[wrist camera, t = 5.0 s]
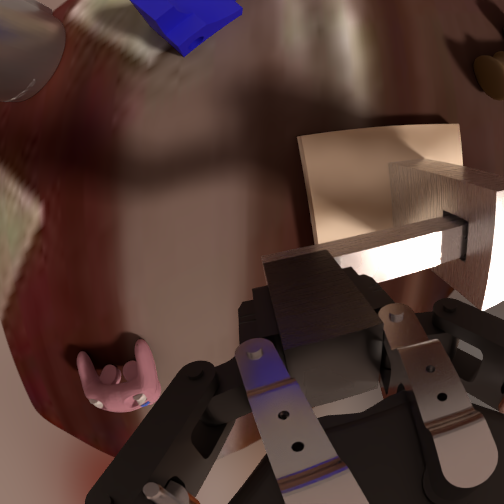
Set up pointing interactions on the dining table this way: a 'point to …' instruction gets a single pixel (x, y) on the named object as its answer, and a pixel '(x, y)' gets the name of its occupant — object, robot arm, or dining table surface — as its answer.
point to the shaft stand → (408, 195)
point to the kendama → (491, 74)
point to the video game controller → (121, 394)
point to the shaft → (348, 301)
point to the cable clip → (187, 19)
